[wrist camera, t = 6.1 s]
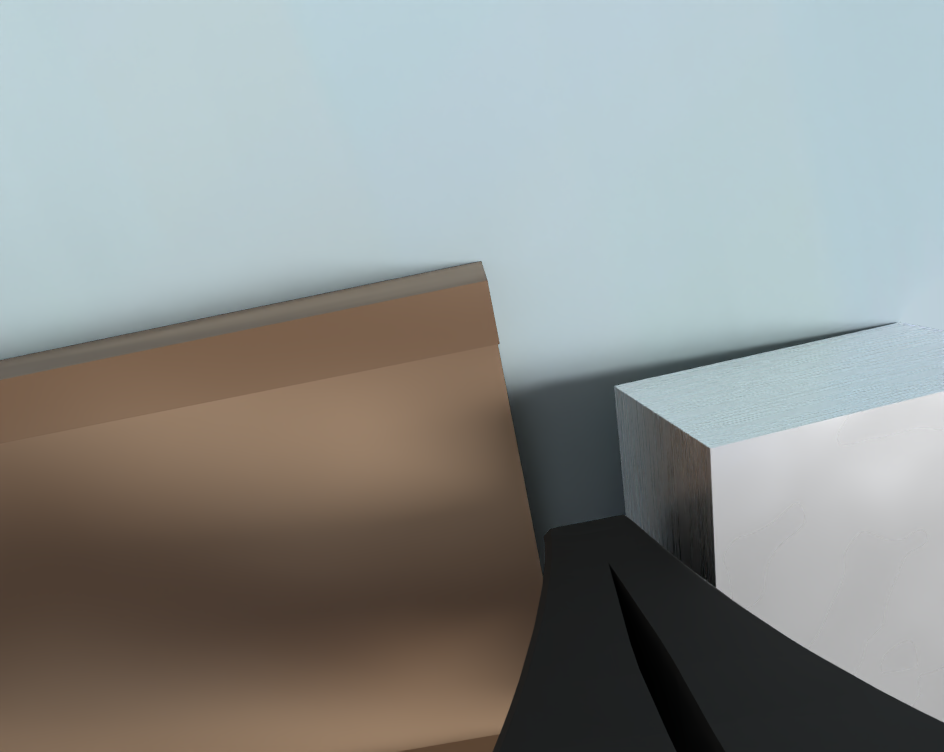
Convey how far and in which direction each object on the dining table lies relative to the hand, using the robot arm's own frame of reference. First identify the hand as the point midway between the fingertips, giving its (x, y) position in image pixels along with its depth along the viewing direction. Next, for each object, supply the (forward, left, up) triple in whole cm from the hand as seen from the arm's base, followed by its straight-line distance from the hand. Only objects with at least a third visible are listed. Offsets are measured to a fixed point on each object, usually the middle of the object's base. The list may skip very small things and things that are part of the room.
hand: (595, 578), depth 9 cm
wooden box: (0, +8, -2) cm, 8 cm away
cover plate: (0, -3, -1) cm, 3 cm away
